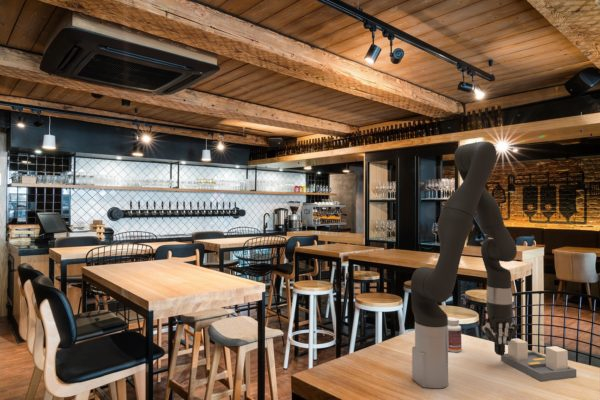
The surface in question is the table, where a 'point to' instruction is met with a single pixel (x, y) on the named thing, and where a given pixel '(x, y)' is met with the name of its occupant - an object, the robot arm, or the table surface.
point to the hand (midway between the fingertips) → (499, 354)
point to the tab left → (518, 349)
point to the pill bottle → (454, 335)
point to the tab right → (556, 358)
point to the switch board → (538, 367)
